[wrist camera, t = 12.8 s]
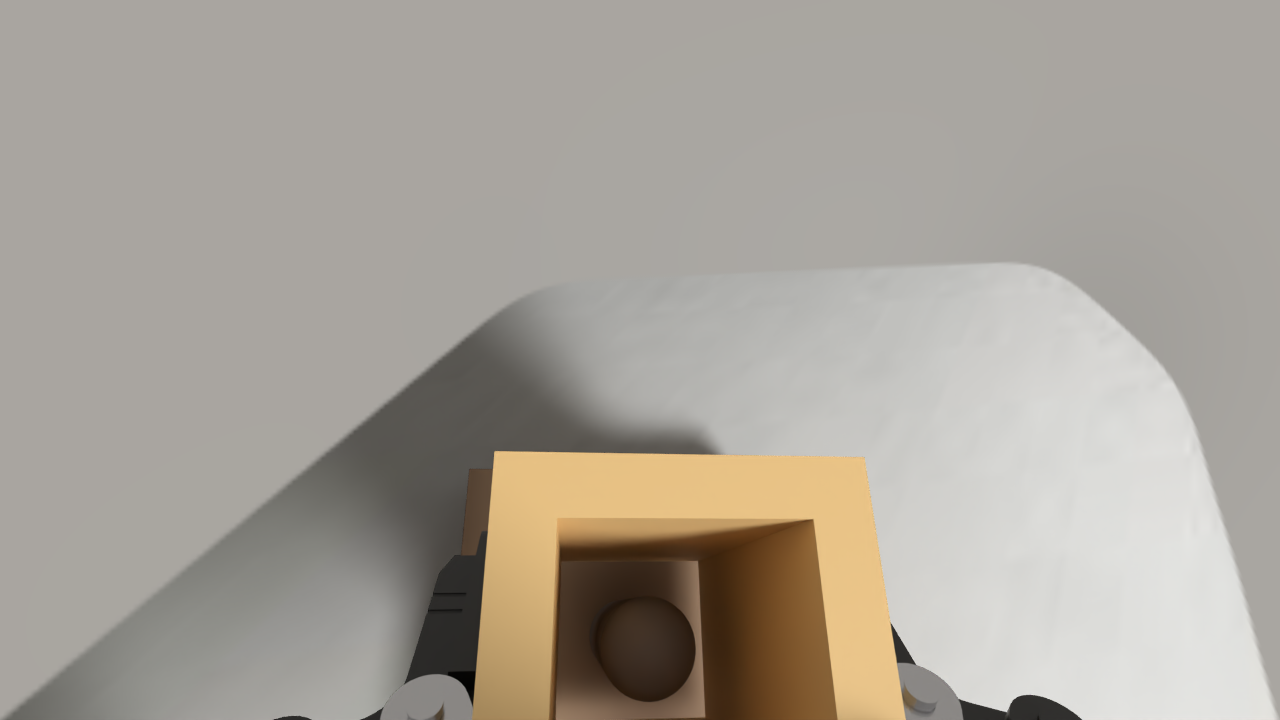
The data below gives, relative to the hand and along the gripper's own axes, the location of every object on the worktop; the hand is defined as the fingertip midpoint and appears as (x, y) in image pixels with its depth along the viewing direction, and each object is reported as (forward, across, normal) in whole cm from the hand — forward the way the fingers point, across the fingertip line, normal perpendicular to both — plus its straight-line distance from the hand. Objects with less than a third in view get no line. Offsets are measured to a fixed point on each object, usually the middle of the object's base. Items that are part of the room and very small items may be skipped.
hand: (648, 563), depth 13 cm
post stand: (+5, 0, +7) cm, 9 cm away
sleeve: (+2, 0, +4) cm, 5 cm away
